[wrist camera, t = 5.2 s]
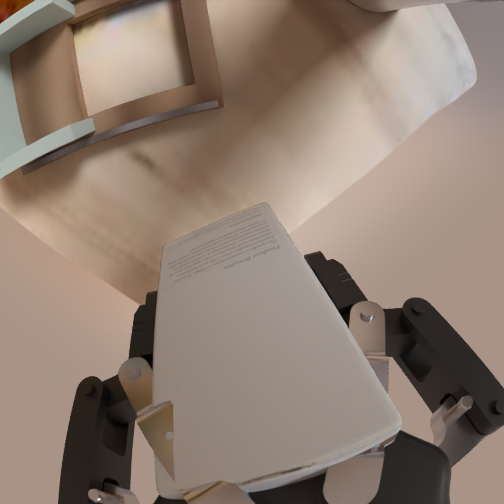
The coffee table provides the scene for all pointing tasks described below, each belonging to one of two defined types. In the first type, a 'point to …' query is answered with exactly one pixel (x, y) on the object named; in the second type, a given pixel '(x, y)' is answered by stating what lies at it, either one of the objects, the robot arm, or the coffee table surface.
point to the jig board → (70, 91)
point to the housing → (3, 96)
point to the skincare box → (257, 362)
